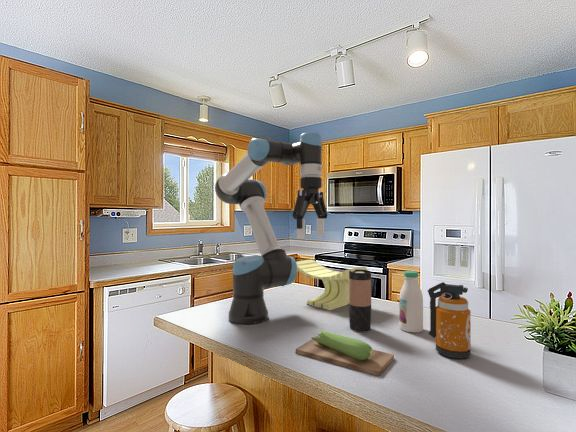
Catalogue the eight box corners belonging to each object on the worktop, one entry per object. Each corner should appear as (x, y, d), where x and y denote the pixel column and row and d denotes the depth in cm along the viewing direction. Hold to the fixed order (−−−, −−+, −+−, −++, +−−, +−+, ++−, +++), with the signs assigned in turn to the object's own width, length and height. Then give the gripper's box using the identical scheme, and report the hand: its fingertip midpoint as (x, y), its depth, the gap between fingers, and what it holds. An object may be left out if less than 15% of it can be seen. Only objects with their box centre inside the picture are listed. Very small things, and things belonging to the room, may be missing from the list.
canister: (469, 363, 90) (469, 288, 90) (425, 353, 96) (425, 283, 95) (471, 351, 97) (471, 282, 97) (430, 343, 103) (430, 278, 103)
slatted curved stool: (368, 306, 144) (368, 265, 144) (346, 314, 133) (346, 269, 133) (315, 294, 166) (315, 258, 166) (292, 300, 155) (292, 262, 155)
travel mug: (371, 333, 112) (371, 273, 112) (348, 331, 114) (348, 272, 114) (370, 325, 120) (370, 269, 120) (349, 324, 121) (349, 269, 121)
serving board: (295, 353, 96) (295, 348, 96) (316, 340, 106) (316, 336, 106) (379, 376, 82) (379, 371, 82) (393, 358, 92) (393, 354, 92)
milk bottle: (423, 327, 118) (423, 270, 118) (422, 334, 111) (422, 274, 111) (400, 324, 121) (400, 269, 121) (398, 331, 114) (398, 272, 114)
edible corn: (363, 349, 85) (373, 339, 88) (308, 331, 100) (318, 323, 103) (367, 367, 86) (377, 357, 89) (312, 346, 101) (321, 338, 104)
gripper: (301, 172, 106) (301, 239, 106) (336, 179, 127) (336, 235, 127) (281, 174, 110) (282, 239, 111) (318, 180, 131) (319, 235, 131)
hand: (311, 237), depth 119 cm, fingers open, 13 cm apart
